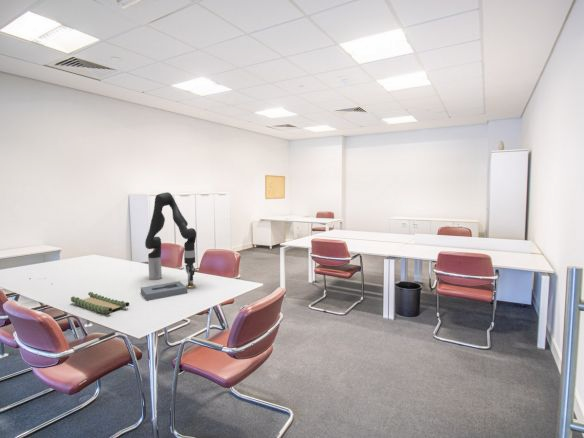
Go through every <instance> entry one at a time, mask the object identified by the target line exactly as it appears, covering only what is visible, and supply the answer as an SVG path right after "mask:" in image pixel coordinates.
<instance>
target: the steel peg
mask: <svg viewBox="0 0 584 438" xmlns="http://www.w3.org/2000/svg"><path fill="white" fill-rule="evenodd" d="M185 286H186V287H187V290H191V289H192V290H193V289H195V288H196V284H194V279H193V280H192V281H190V274H189V272H188V274H187V284H186V285H185Z"/></svg>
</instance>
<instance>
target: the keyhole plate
mask: <svg viewBox="0 0 584 438" xmlns="http://www.w3.org/2000/svg"><path fill="white" fill-rule="evenodd" d="M187 293H188V289H187V287H186V285H185V284H183V283H182V282H181V281H180V280H179V281H172V282H166V283H158V284H154V285H148V286H147V285H146V286H141V287H140V294H141V295H142V297H143V298H144V299H145V301H152V300H158V299H162V298H168V297H174V296H179V295H184V294H187Z"/></svg>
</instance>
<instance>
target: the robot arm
mask: <svg viewBox="0 0 584 438" xmlns="http://www.w3.org/2000/svg"><path fill="white" fill-rule="evenodd" d="M154 198H155V199H154V205H153V213H152V216H151V221H150V225H149V229H148V230H149V231H148V232H147V235H146V238H145V242H144V243H145V248H146V249H148V250H153V251H151V252H149V253H148V256H147V257H148V258H147V261H148V263H147V264H148V278H149V280H151V281H155V280H160V279H162V278H163V277H162V275H163V274H162V256H161V255H162V239H161V237H160V236H156V235H157V234H158V233H159V232H160V231H161V230H163V228H164V226H165V222H166V219H165V215H164V214H163V208H164V207H166V206H169V207H170V208H171V211H172V219H173V222H174V223H175V225H176V226H177V228H178V230H179V232H180V236H181V237H182V238H183V239H185V240H187V241H185V242H184V244H183V249H184V250H183V251H184V252H183V253H184V254H183V256H184V259H183V260H184V264H185V272H186V274H187V275H188V272H189V274H190V281H192V280H193V281H194V275H195V271H196V270H195V269H196V268H195V266H194V264H195V263H196V250H195V249H196V248H195V247H196V245H195V243H196V238H197V231H196V229H194V228H192V227H190V228H188V224H189V223H188V221H187V220H186V218H185V217H184V215H183V213H182V212H181V210H180V209H179V206H178V204H177V202H176V200H175V198H174V196H173V195H172V194H171V193H170V192H161V193H158V194H156V196H155V197H154Z"/></svg>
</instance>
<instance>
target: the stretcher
mask: <svg viewBox="0 0 584 438" xmlns="http://www.w3.org/2000/svg"><path fill="white" fill-rule="evenodd" d="M87 295H88V296H89V297H87V298H83V299H82V298H80V297H76V296H74V295H73V296H71V297H70V301H71V302H72V303H74V304H75V305H77V306H79V307H81V308H84V309H86V310H89V311H92V312H95V313H99V314H104V315H105V314H108V313H112V312H113V310H116V309H119V308H120V309H121V308H128V307H130V302H128V301H127V302H125V301H123V300H117V299H114V298H113V299H111V298H110V297H107V296H103V295H101V294H98V293H94V292H93V291H89V292H88V294H87Z"/></svg>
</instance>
